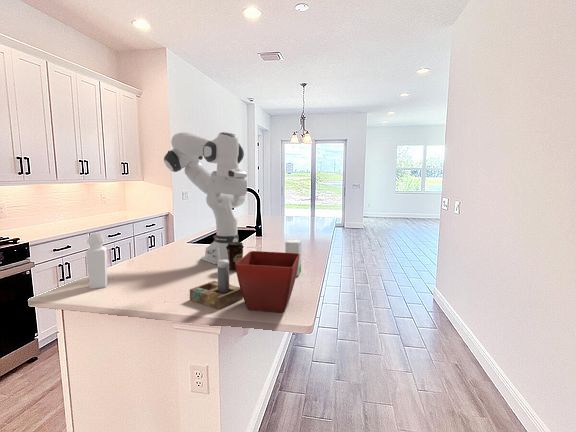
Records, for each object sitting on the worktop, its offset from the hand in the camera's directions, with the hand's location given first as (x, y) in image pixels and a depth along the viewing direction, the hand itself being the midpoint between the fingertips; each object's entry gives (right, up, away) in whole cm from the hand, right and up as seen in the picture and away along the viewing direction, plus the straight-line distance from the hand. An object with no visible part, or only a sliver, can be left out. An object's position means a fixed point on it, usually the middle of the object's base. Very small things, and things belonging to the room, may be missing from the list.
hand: (226, 204), depth 139 cm
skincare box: (+29, -32, +13) cm, 45 cm away
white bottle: (-51, -34, -6) cm, 62 cm away
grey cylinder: (+3, -35, -22) cm, 41 cm away
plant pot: (+20, -37, -24) cm, 48 cm away
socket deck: (0, -36, -20) cm, 41 cm away
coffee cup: (+1, -31, +19) cm, 37 cm away
